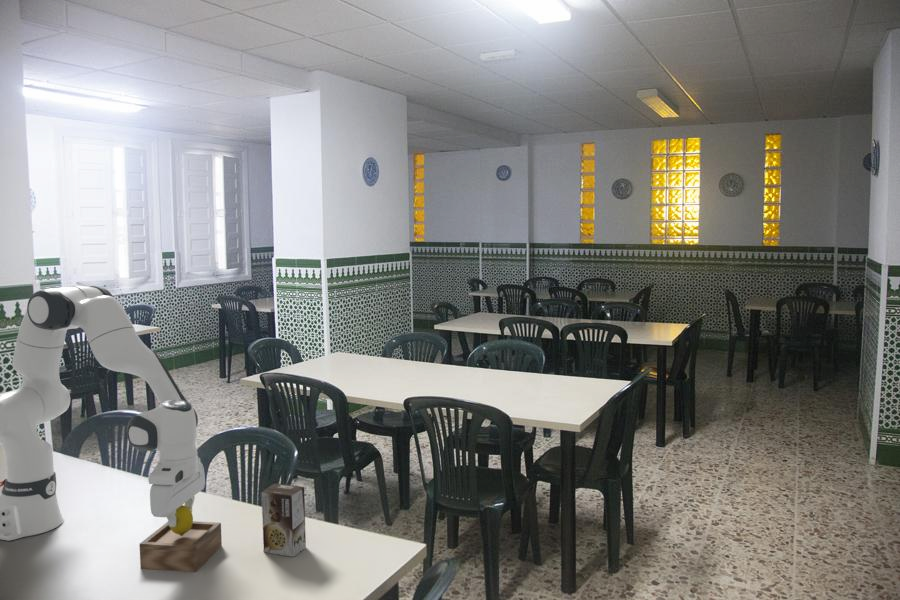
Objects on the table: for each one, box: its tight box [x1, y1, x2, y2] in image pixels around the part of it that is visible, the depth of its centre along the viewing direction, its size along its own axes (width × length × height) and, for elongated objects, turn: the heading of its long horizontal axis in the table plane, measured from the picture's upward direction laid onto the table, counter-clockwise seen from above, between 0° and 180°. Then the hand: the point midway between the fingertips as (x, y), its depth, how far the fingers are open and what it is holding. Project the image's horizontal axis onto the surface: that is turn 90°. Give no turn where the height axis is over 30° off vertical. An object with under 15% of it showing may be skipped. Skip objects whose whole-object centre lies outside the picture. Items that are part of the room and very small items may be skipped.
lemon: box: [170, 504, 194, 536], centre depth 173 cm, size 6×6×8 cm
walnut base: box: [139, 520, 223, 573], centre depth 173 cm, size 14×14×6 cm
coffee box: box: [260, 483, 307, 558], centre depth 177 cm, size 9×6×16 cm
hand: (180, 520), depth 173 cm, fingers closed on lemon, 6 cm apart
